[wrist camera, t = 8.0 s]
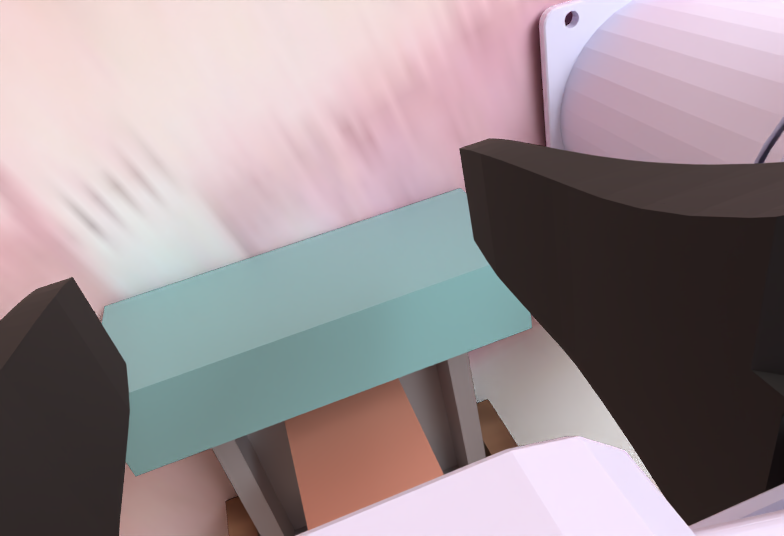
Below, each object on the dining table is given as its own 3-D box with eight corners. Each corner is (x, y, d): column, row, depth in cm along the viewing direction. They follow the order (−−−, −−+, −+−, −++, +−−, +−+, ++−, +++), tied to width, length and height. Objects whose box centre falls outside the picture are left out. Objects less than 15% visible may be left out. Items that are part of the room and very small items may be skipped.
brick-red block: (412, 431, 27) (467, 551, 22) (315, 472, 26) (349, 605, 21) (388, 358, 24) (444, 474, 19) (280, 401, 24) (308, 534, 19)
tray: (460, 187, 22) (525, 252, 18) (498, 440, 30) (550, 525, 26) (104, 306, 21) (87, 407, 16) (244, 542, 28) (256, 650, 24)
